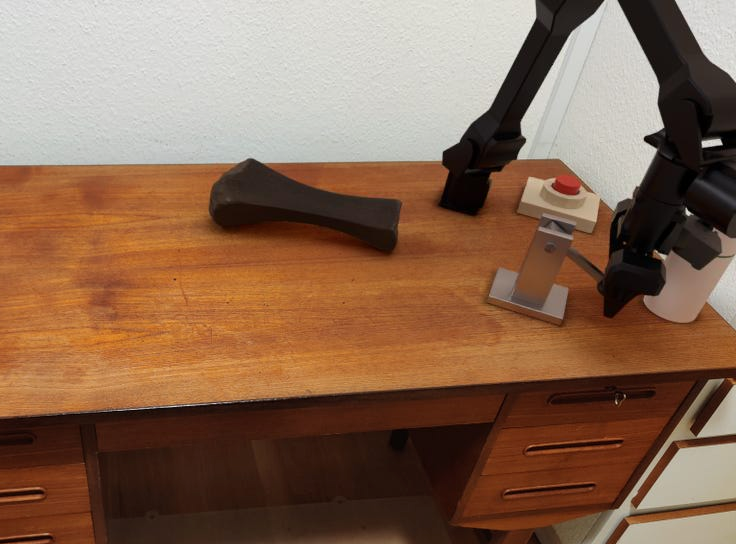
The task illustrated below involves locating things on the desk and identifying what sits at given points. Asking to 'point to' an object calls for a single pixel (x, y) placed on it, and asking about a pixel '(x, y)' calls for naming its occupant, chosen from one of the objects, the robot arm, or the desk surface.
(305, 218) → the dark brown bone
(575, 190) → the button
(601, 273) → the lever
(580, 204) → the button box
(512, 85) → the robot arm
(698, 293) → the cylindrical container
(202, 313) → the desk surface
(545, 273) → the bracket
